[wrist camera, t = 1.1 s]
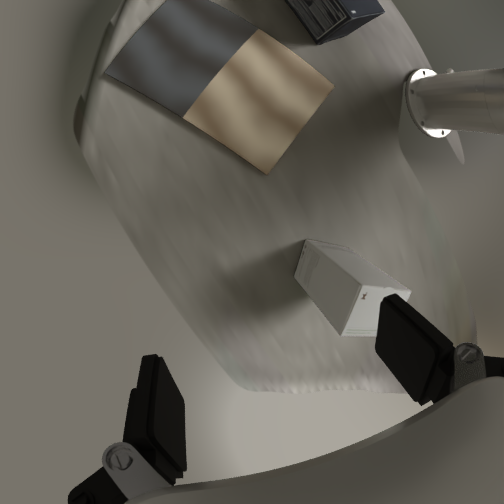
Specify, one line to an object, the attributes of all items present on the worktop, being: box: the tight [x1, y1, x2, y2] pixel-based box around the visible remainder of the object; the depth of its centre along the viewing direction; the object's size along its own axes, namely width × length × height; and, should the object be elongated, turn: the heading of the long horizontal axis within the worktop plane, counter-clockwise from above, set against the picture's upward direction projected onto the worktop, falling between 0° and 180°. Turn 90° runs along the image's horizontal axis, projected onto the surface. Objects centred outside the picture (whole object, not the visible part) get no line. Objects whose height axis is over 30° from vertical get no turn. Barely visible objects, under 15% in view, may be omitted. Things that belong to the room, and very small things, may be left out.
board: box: [104, 0, 335, 175], centre depth 29 cm, size 16×26×1 cm, turn 54°
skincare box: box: [294, 239, 411, 336], centre depth 35 cm, size 8×7×16 cm
